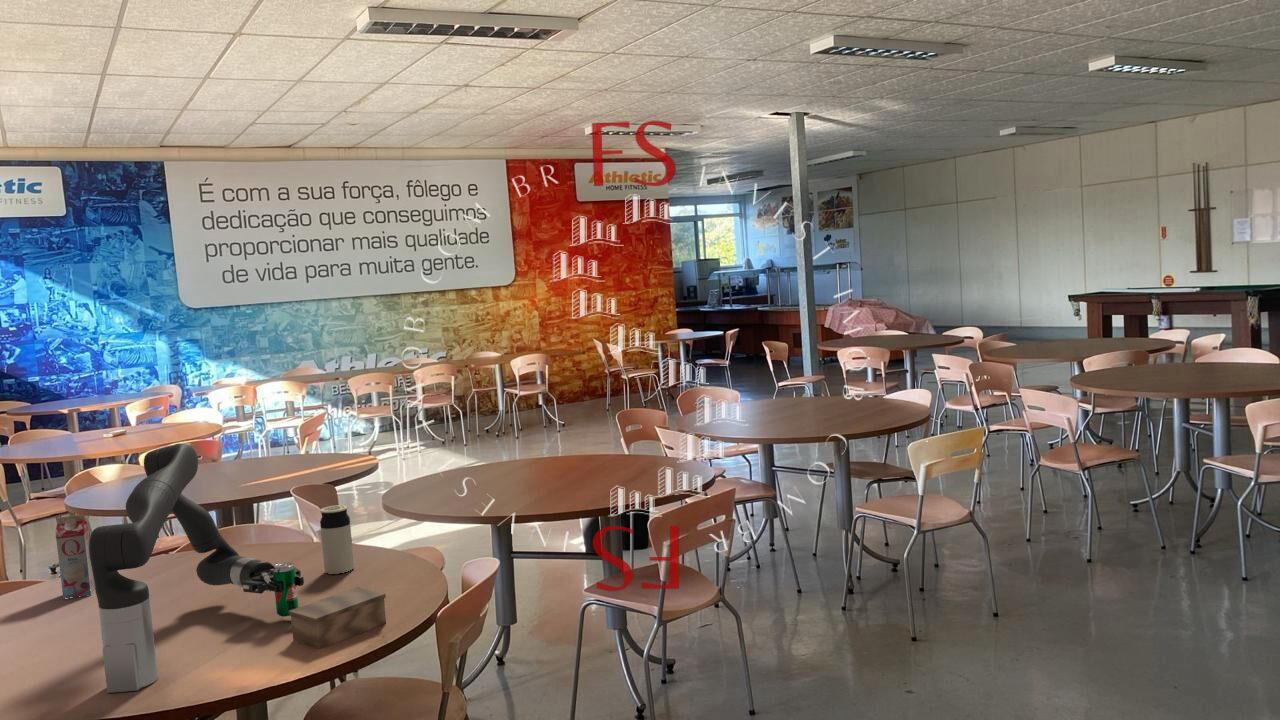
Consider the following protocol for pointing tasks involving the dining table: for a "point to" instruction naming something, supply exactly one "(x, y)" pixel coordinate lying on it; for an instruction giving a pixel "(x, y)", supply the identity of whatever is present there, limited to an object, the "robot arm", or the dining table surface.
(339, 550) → the travel mug
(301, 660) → the dining table surface
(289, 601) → the soda can
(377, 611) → the shoebox
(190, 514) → the robot arm
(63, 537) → the juice carton
